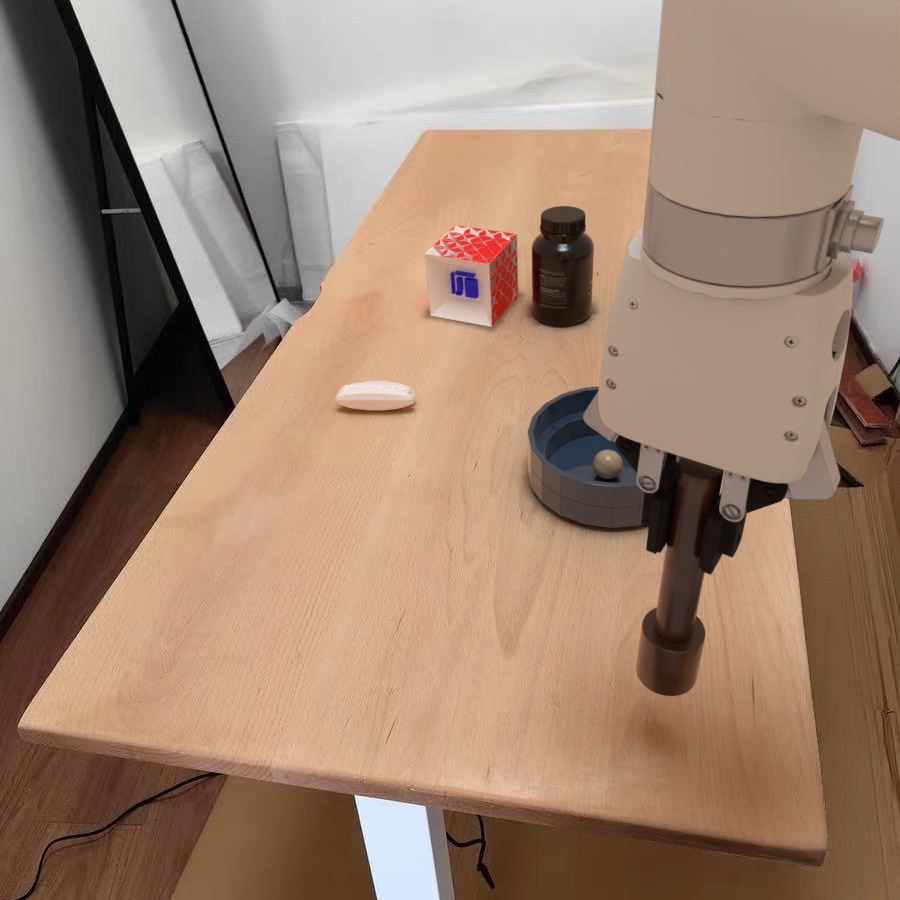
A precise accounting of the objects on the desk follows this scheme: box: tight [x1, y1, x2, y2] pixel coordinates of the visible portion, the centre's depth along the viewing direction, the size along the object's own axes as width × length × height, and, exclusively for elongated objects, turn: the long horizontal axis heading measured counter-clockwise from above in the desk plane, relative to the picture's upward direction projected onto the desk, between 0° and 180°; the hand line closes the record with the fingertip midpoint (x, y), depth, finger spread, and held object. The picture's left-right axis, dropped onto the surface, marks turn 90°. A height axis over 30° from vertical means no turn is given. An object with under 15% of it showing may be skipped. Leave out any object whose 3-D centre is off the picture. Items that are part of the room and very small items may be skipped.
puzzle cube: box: [424, 224, 519, 328], centre depth 100 cm, size 8×8×8 cm
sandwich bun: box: [334, 380, 416, 412], centre depth 87 cm, size 3×8×3 cm, turn 84°
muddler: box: [635, 457, 725, 697], centre depth 48 cm, size 4×4×16 cm
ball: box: [593, 450, 623, 479], centre depth 75 cm, size 3×3×3 cm
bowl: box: [527, 385, 682, 529], centre depth 75 cm, size 14×14×5 cm
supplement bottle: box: [531, 205, 595, 327], centre depth 96 cm, size 7×7×12 cm
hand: (688, 544), depth 46 cm, fingers closed on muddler, 2 cm apart
